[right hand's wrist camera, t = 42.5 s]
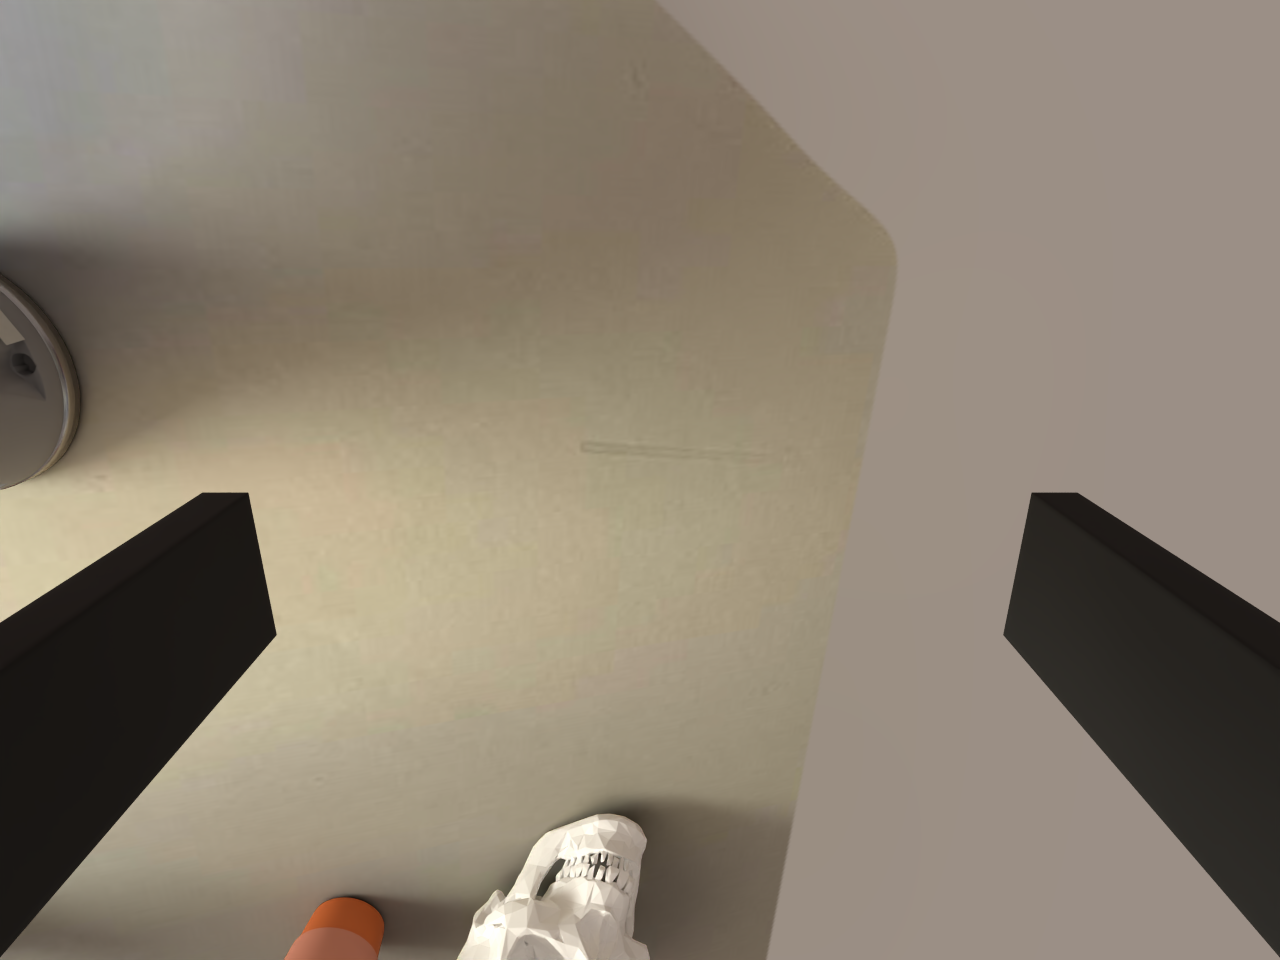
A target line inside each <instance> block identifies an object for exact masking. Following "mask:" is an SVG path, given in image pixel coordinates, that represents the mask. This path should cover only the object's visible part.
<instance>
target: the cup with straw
mask: <svg viewBox="0 0 1280 960" xmlns="http://www.w3.org/2000/svg"><path fill="white" fill-rule="evenodd" d="M383 934H384V921H383V919H382V917H381V915H380V914H379V912H378V911H377V910H376V909H375V908H374V907H372V906H371V905H370V904H368V903H366V902H364V901H361V900H358V899H354V898H347V897H342V898H334V899H331V900H328V901H326V902H324V903H322V904H321V905H320V906H319V907H318V908H317V909H316V910H315V912H314V913H313V915H312V917H311V918H310V920H309V922H308V924H307V925H306V927H305V929H304V930H303V932H302V934H301V936H299V937H298V938H297V939H296V940H295V942H294V943H293V945H292V947H291V948H290V950H289V952H288V953H287V955H286V957H285V958H284V960H378V954H379V950H380V946H381V942H382V938H383Z"/></svg>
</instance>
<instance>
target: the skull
mask: <svg viewBox="0 0 1280 960" xmlns="http://www.w3.org/2000/svg"><path fill="white" fill-rule="evenodd" d="M646 843H647V839H646V837H645V835H644V833H643V831H642V829H641V827H640V826H639V825H638V824H637V823H635V822H633V821H632V820H630V819H628V818H626V817H625V816H620V815H615V814H597V815H594V816H590V817H588V818H585V819H582V820H579V821H576V822H573V823H570V824H568V825H565V826H562V827H559V828H556V829H554V830H552V831H549V832H547V833H546V834H545V835H544V836H543V837H541V838H540V839H539V841H538V842H537V843H536V844H535V845H534V846H533V848H532V850H531V853H530V855H529V857H528V859H527V861H526V863H525V865H524V867H523V870H522V872H521V873H520V875H519V876H518V878H517V880H516V883H515V885H514V886H513V888H512V889H511V891H510V892H509V894H508V895H507V897H505V895H504V894H503V892H502V891H500V890H498V889H497V890H496V891H495V892H494V893H493V894H492V895H491V897H490V899H489V900H488V901H487V902H486V903H485V904H484V905H483V906H482V907H481V908H480V909H479V910H478V911H477V912H476V913H475V915H474V918H473V923H472V928H471V930H470V933H469V936H468V939H467V942H466V943H465V945H464V947H463V949H462V951H461V952H460V954H459V956H458V958H457V960H650V956H649V953H648V949H647V945H645V944H643V943H641V942H638V941H636V940H634V939H633V938H632V936H633V932H634V907H635V902H636V898H637V893H638V887H639V878H640V869H641V859H642V855H643V852H644V850H645V848H646ZM599 853H602V854H601V862H603V861H604V860H605V858H606V855H607V854H608V855H609V856H608V860H607V865H606V866H608V865H611V864H612V866H609V867H608V868H607V869H606V879H605V882H603V881H601V879H602V877H603V874H604V872H605V867H604V866H602V865H600V867H599V870H598V872H597V875H596V877H595V878H594V877H593V873H594V867H595V864H597V860H598V854H599ZM591 854H594V855H593V856H590V855H591ZM613 856H615V857H614V858H613ZM590 857H591V861H592V865H594V866H593V867H591V868H590V869H589V865H590V864H588V862H589V860H590ZM616 857H618V858H620V861H619V859H618V858H616ZM560 858H562V859H565V860H566V861H565V864H564V866H563V868H562V870H560V872H559V873H558V874H557V875H556V882H554V883H552V884H551V885H550V886H549V888H548V890H547V892H546V893H545V894H544V896H543V897H541V896H536V894H537V892H538V889H539V886H540V884H541V882H542V881H543V879H544V878H545V876H546V875H547V873H548V872H549V870H550V869H551V867H552V866H553V865H554V863H555V862H556V861H557V860H558V859H560ZM583 858H584V861H583ZM570 860H571V861H570ZM612 862H613V863H612ZM618 863H619V869H618V868H617V867H618ZM623 867H624V870H623ZM588 870H589V871H588ZM581 872H582V874H581ZM618 873H619V875H618ZM580 874H581V876H579V875H580ZM617 875H618V879H617V882H613V880H614V879H615V878H616V876H617Z"/></svg>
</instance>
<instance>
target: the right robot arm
mask: <svg viewBox="0 0 1280 960" xmlns="http://www.w3.org/2000/svg"><path fill="white" fill-rule="evenodd" d="M79 415H80V390H79V384H78V378H77V374H76V371H75V367H74V364H73V362H72V359H71V356H70V354H69V352H68V350H67V348H66V346H65V343H64V342H63V340H62V338H61V336H60V335H59V333H58V331H57V330H56V328H55V327H54V326H53V324H52V323H51V321H50V320H49V319H48V317H47V316H46V315H45V314H44V312H43V311H42V310H41V309H40V308H39V307H38V306H37V305H36V304H35V302H34V301H33V300H32V299H31V298H30V297H29V296H27V295H26V294H25V293H24V292H23V291H22V290H21V289H20V288H18V287H17V286H16V285H15V284H13V283H12V282H11V281H9V280H8V279H6V278H5V277H4V276H2V275H1V274H0V490H1V489H6V488H9V487H12V486H15V485H17V484H19V483H22V482H24V481H26V480H28V479H31V478H33V477H35V476H37V475H39V474H41V473H43V472H44V471H46V470H48V469H49V468H50V467H51V466H53V465H54V464H55V463H56V462H57V461H58V460H59V459H60V458H61V457H62V456H63V454H64V453H65V452H66V450H67V449H68V447H69V445H70V444H71V442H72V440H73V437H74V435H75V432H76V429H77V425H78V422H79ZM276 635H277V634H276V629H275V624H274V619H273V614H272V609H271V604H270V599H269V594H268V589H267V584H266V579H265V574H264V569H263V564H262V559H261V554H260V549H259V544H258V539H257V534H256V529H255V524H254V519H253V514H252V509H251V504H250V499H249V494H248V493H201V494H200V495H198V496H197V497H195V498H193V499H192V500H190V501H189V502H187V503H186V504H184V505H183V506H181V507H179V508H178V509H176V510H175V511H173V512H172V513H170V514H169V515H167V516H165V517H164V518H162V519H161V520H159V521H158V522H156V523H155V524H153V525H152V526H150V527H148V528H147V529H145V530H144V531H142V532H141V533H139V534H138V535H136V536H134V537H133V538H131V539H130V540H128V541H127V542H125V543H124V544H122V545H120V546H119V547H117V548H116V549H114V550H113V551H111V552H110V553H108V554H106V555H105V556H103V557H102V558H100V559H99V560H97V561H96V562H94V563H92V564H91V565H89V566H88V567H86V568H85V569H83V570H82V571H80V572H78V573H77V574H75V575H74V576H72V577H71V578H69V579H68V580H66V581H64V582H63V583H61V584H60V585H58V586H57V587H55V588H54V589H52V590H50V591H49V592H47V593H46V594H44V595H43V596H41V597H40V598H38V599H36V600H35V601H33V602H32V603H30V604H29V605H27V606H26V607H24V608H22V609H21V610H19V611H18V612H16V613H15V614H13V615H12V616H10V617H8V618H7V619H5V620H4V621H2V622H1V623H0V957H1V956H2V955H3V953H4V952H5V951H6V950H7V949H8V948H9V946H10V945H11V944H12V943H13V942H14V941H15V939H16V938H17V937H18V936H19V935H20V934H21V932H22V931H23V930H24V929H25V928H26V927H27V925H28V924H29V923H30V922H31V921H32V920H33V918H34V917H35V916H36V915H37V914H38V913H39V911H40V910H41V909H42V908H43V907H44V906H45V904H46V903H47V902H48V901H49V900H50V899H51V897H52V896H53V895H54V894H55V893H56V892H57V890H58V889H59V888H60V887H61V886H62V885H63V883H64V882H65V881H66V880H67V879H68V878H69V876H70V875H71V874H72V873H73V872H74V871H75V869H76V868H77V867H78V866H79V865H80V864H81V862H82V861H83V860H84V859H85V858H86V857H87V855H88V854H89V853H90V852H91V851H92V850H93V849H94V847H95V846H96V845H97V844H98V843H99V842H100V840H101V839H102V838H103V837H104V836H105V835H106V833H107V832H108V831H109V830H110V829H111V828H112V826H113V825H114V824H115V823H116V822H117V821H118V819H119V818H120V817H121V816H122V815H123V814H124V812H125V811H126V810H127V809H128V808H129V807H130V805H131V804H132V803H133V802H134V801H135V800H136V798H137V797H138V796H139V795H140V794H141V793H142V791H143V790H144V789H145V788H146V787H147V786H148V784H149V783H150V782H151V781H152V780H153V779H154V777H155V776H156V775H157V774H158V773H159V772H160V770H161V769H162V768H163V767H164V766H165V765H166V763H167V762H168V761H169V760H170V759H171V758H172V756H173V755H174V754H175V753H176V752H177V751H178V749H179V748H180V747H181V746H182V745H183V744H184V742H185V741H186V740H187V739H188V738H189V737H190V735H191V734H192V733H193V732H194V731H195V730H196V728H197V727H198V726H199V725H200V724H201V723H202V721H203V720H204V719H205V718H206V717H207V716H208V714H209V713H210V712H211V711H212V710H213V709H214V707H215V706H216V705H217V704H218V703H219V702H220V700H221V699H222V698H223V697H224V696H225V695H226V693H227V692H228V691H229V690H230V689H231V688H232V686H233V685H234V684H235V683H236V682H237V681H238V679H239V678H240V677H241V676H242V675H243V674H244V672H245V671H246V670H247V669H248V668H249V667H250V665H251V664H252V663H253V662H254V661H255V660H256V658H257V657H258V656H259V655H260V654H261V653H262V651H263V650H264V649H265V648H266V647H267V646H268V644H269V643H270V642H271V641H272V640H273V639H274V637H275V636H276ZM1003 635H1004V636H1005V637H1006V639H1007V640H1008V641H1009V642H1010V643H1011V644H1012V646H1013V647H1014V648H1015V649H1016V650H1017V651H1018V653H1019V654H1020V655H1021V656H1022V657H1023V658H1024V660H1025V661H1026V662H1027V663H1028V664H1029V665H1030V667H1031V668H1032V669H1033V670H1034V671H1035V672H1036V674H1037V675H1038V676H1039V677H1040V678H1041V679H1042V681H1043V682H1044V683H1045V684H1046V685H1047V686H1048V688H1049V689H1050V690H1051V691H1052V692H1053V693H1054V695H1055V696H1056V697H1057V698H1058V699H1059V700H1060V702H1061V703H1062V704H1063V705H1064V706H1065V707H1066V709H1067V710H1068V711H1069V712H1070V713H1071V714H1072V716H1073V717H1074V718H1075V719H1076V720H1077V721H1078V723H1079V724H1080V725H1081V726H1082V727H1083V728H1084V730H1085V731H1086V732H1087V733H1088V734H1089V735H1090V737H1091V738H1092V739H1093V740H1094V741H1095V742H1096V744H1097V745H1098V746H1099V747H1100V748H1101V749H1102V751H1103V752H1104V753H1105V754H1106V755H1107V756H1108V758H1109V759H1110V760H1111V761H1112V762H1113V763H1114V765H1115V766H1116V767H1117V768H1118V769H1119V770H1120V772H1121V773H1122V774H1123V775H1124V776H1125V777H1126V779H1127V780H1128V781H1129V782H1130V783H1131V784H1132V786H1133V787H1134V788H1135V789H1136V790H1137V791H1138V793H1139V794H1140V795H1141V796H1142V797H1143V798H1144V799H1145V801H1146V802H1147V803H1148V804H1149V805H1150V807H1151V808H1152V809H1153V810H1154V811H1155V812H1156V814H1157V815H1158V816H1159V817H1160V818H1161V819H1162V820H1163V822H1164V823H1165V824H1166V825H1167V826H1168V828H1169V829H1170V830H1171V831H1172V832H1173V833H1174V835H1175V836H1176V837H1177V838H1178V839H1179V840H1180V842H1181V843H1182V844H1183V845H1184V846H1185V847H1186V849H1187V850H1188V851H1189V852H1190V853H1191V854H1192V855H1193V857H1194V858H1195V859H1196V860H1197V861H1198V862H1199V864H1200V865H1201V866H1202V867H1203V868H1204V869H1205V871H1206V872H1207V873H1208V874H1209V875H1210V876H1211V878H1212V879H1213V880H1214V881H1215V882H1216V883H1217V885H1218V886H1219V887H1220V888H1221V889H1222V890H1223V892H1224V893H1225V894H1226V895H1227V896H1228V897H1229V899H1230V900H1231V901H1232V902H1233V903H1234V904H1235V906H1236V907H1237V908H1238V909H1239V910H1240V911H1241V913H1242V914H1243V915H1244V916H1245V917H1246V918H1247V920H1248V921H1249V922H1250V923H1251V924H1252V925H1253V927H1254V928H1255V929H1256V930H1257V931H1258V932H1259V934H1260V935H1261V936H1262V937H1263V938H1264V939H1265V941H1266V942H1267V943H1268V944H1269V945H1270V946H1271V948H1272V949H1273V950H1274V951H1275V952H1276V953H1277V955H1278V956H1279V957H1280V623H1279V622H1278V621H1276V620H1275V619H1273V618H1272V617H1270V616H1268V615H1267V614H1265V613H1264V612H1262V611H1261V610H1259V609H1258V608H1256V607H1254V606H1253V605H1251V604H1250V603H1248V602H1247V601H1245V600H1244V599H1242V598H1240V597H1239V596H1237V595H1236V594H1234V593H1233V592H1231V591H1230V590H1228V589H1226V588H1225V587H1223V586H1222V585H1220V584H1219V583H1217V582H1216V581H1214V580H1212V579H1211V578H1209V577H1208V576H1206V575H1205V574H1203V573H1202V572H1200V571H1198V570H1197V569H1195V568H1194V567H1192V566H1191V565H1189V564H1188V563H1186V562H1184V561H1183V560H1181V559H1180V558H1178V557H1177V556H1175V555H1174V554H1172V553H1170V552H1169V551H1167V550H1166V549H1164V548H1163V547H1161V546H1160V545H1158V544H1156V543H1155V542H1153V541H1152V540H1150V539H1149V538H1147V537H1146V536H1144V535H1142V534H1141V533H1139V532H1138V531H1136V530H1135V529H1133V528H1132V527H1130V526H1128V525H1127V524H1125V523H1124V522H1122V521H1121V520H1119V519H1118V518H1116V517H1114V516H1113V515H1111V514H1110V513H1108V512H1107V511H1105V510H1104V509H1102V508H1100V507H1099V506H1097V505H1096V504H1094V503H1093V502H1091V501H1090V500H1088V499H1086V498H1085V497H1083V496H1082V495H1080V494H1079V493H1032V494H1031V499H1030V504H1029V509H1028V514H1027V519H1026V524H1025V529H1024V534H1023V539H1022V544H1021V549H1020V554H1019V559H1018V564H1017V569H1016V574H1015V579H1014V584H1013V589H1012V594H1011V599H1010V604H1009V609H1008V614H1007V619H1006V624H1005V629H1004V634H1003Z"/></svg>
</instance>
